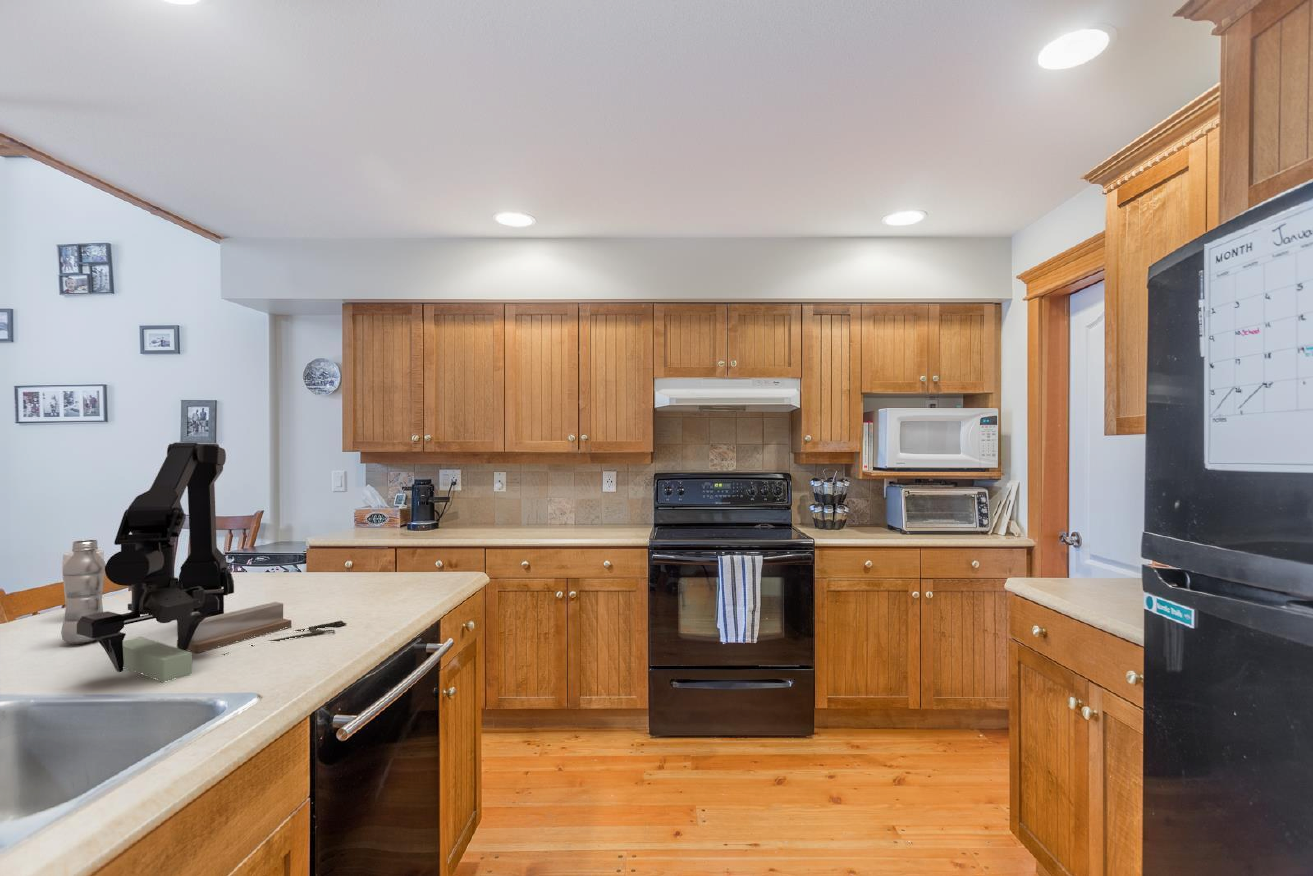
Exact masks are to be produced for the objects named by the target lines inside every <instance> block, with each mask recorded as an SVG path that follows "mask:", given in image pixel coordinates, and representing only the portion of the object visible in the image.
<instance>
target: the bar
mask: <svg viewBox="0 0 1313 876" xmlns="http://www.w3.org/2000/svg"><path fill="white" fill-rule="evenodd" d="M123 658H124V666H123V667H124V668H123V669H126V668H128V669H127V670H129V669H130V670H129V671H131V670H133V671H132V672H134V671H136V672H135V673H137V672H139V673H143V674H144V675H143V676H145V675H147V676H148V677H147V676H146V677H147V678H150V677H152V678H151V679H153V678H156V679H158V680H160V681H159V682H161V681H162V682H161V683H163V682H164V683H166V682H165V681H168V680H171V681H173V680H172V679H174V678H178V679H181V678H185V677H188V676H191V675H190V674H192V673H193V652H191V651H185V650H182V649H178V648H177V647H175V646H171V645H169V644H165V643H161V642H159V641H155V640H152V639H149V638H147V637H146V638H145V637H142V636H139V637H136V638H131V639H126V640H123ZM139 673H138V674H139ZM192 675H193V674H192ZM184 676H185V677H184ZM158 680H157V681H158ZM168 682H169V681H168Z"/></svg>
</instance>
